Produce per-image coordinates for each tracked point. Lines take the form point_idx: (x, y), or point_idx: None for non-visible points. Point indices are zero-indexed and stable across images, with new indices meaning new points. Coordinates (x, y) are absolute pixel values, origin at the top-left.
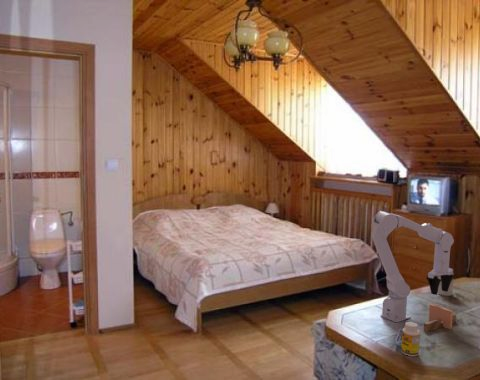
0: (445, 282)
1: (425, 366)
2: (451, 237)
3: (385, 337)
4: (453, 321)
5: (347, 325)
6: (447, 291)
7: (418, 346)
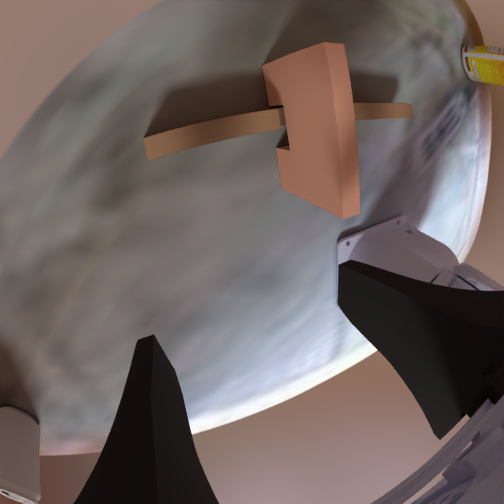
0: (179, 446)
1: (466, 20)
2: None
3: (464, 145)
4: (171, 129)
5: (464, 234)
6: (13, 422)
7: (481, 46)
